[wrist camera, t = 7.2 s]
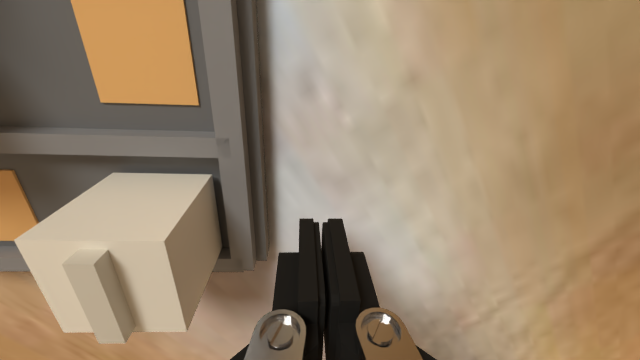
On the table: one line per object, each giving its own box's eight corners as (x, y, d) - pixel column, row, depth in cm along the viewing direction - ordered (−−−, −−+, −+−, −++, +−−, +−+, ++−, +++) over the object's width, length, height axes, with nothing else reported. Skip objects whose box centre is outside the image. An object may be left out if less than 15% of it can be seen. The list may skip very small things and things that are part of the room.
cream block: (212, 174, 12) (153, 256, 7) (222, 246, 14) (179, 349, 9) (113, 172, 12) (-9, 254, 7) (136, 246, 13) (49, 349, 9)
